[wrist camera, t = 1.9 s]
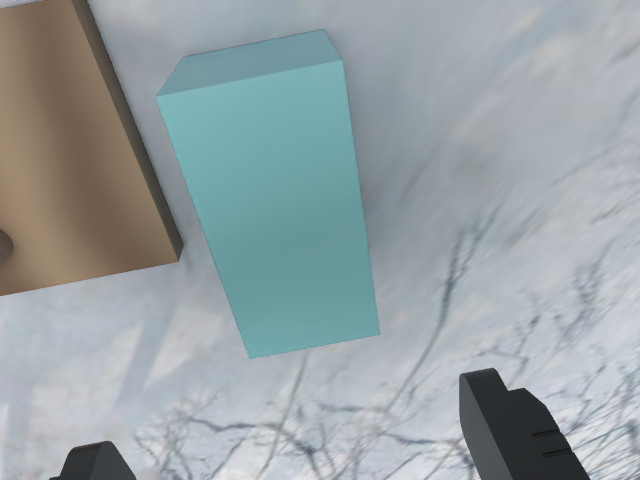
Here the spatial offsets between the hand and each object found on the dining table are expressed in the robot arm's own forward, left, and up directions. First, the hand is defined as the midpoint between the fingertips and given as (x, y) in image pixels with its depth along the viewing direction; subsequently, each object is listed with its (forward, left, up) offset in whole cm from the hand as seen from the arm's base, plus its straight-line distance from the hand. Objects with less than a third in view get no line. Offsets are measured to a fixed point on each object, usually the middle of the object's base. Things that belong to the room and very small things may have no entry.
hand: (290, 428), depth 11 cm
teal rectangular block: (0, 0, -15) cm, 15 cm away
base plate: (+14, -3, -15) cm, 20 cm away
